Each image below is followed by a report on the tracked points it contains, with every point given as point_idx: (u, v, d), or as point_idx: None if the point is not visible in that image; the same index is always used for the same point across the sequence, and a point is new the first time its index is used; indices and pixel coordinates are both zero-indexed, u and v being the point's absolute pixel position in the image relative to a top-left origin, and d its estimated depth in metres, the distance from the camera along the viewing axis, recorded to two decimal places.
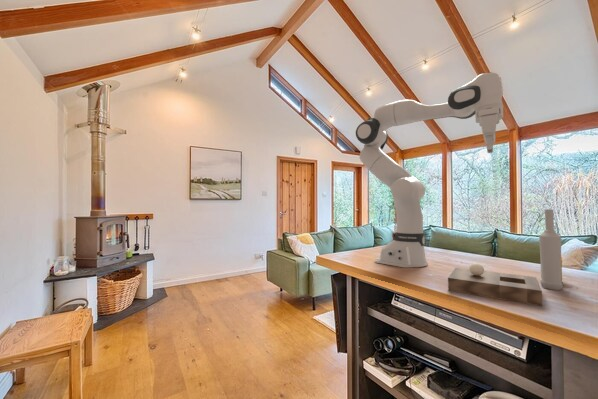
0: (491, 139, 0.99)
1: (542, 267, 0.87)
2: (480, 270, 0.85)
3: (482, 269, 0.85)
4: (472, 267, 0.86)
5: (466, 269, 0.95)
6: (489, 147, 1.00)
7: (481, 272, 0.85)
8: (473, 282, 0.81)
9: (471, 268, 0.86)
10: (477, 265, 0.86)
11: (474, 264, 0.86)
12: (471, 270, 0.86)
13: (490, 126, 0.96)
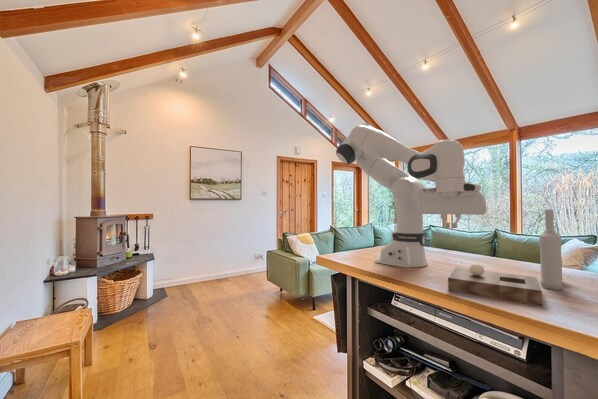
0: None
1: (542, 267, 0.87)
2: (480, 270, 0.85)
3: (482, 269, 0.85)
4: (472, 267, 0.86)
5: (466, 269, 0.95)
6: (456, 226, 0.90)
7: (481, 272, 0.85)
8: (473, 282, 0.81)
9: (471, 268, 0.86)
10: (477, 265, 0.86)
11: (474, 264, 0.86)
12: (471, 270, 0.86)
13: None
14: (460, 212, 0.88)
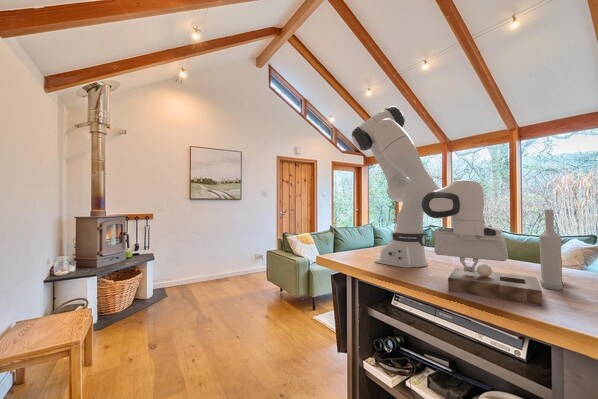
0: None
1: (542, 267, 0.87)
2: (487, 274, 0.84)
3: (488, 275, 0.84)
4: (484, 267, 0.84)
5: None
6: (474, 270, 0.87)
7: (485, 276, 0.84)
8: (473, 282, 0.81)
9: (482, 267, 0.85)
10: (489, 270, 0.84)
11: (488, 267, 0.84)
12: (480, 268, 0.85)
13: (507, 252, 0.82)
14: (480, 257, 0.84)
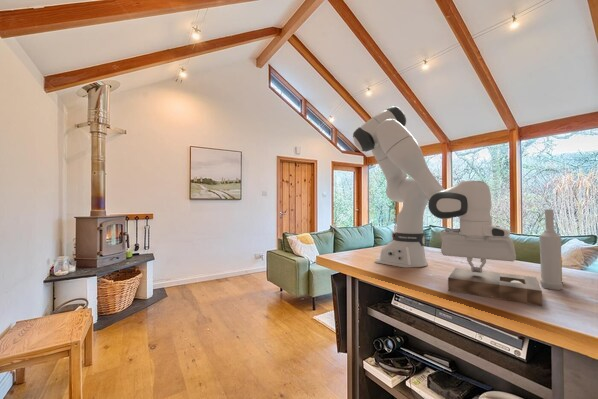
0: None
1: (542, 267, 0.87)
2: None
3: None
4: None
5: (466, 269, 0.95)
6: None
7: None
8: (473, 282, 0.81)
9: None
10: None
11: None
12: None
13: None
14: (487, 257, 0.84)
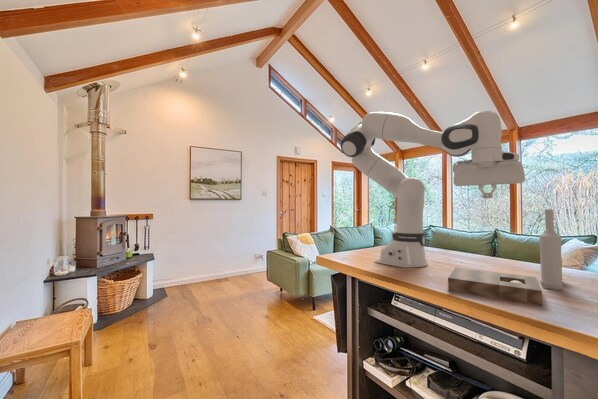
0: (495, 188, 0.92)
1: (542, 267, 0.87)
2: None
3: (520, 283, 0.79)
4: None
5: (466, 269, 0.95)
6: (492, 196, 0.92)
7: None
8: (473, 282, 0.81)
9: None
10: None
11: None
12: None
13: None
14: (498, 181, 0.90)
